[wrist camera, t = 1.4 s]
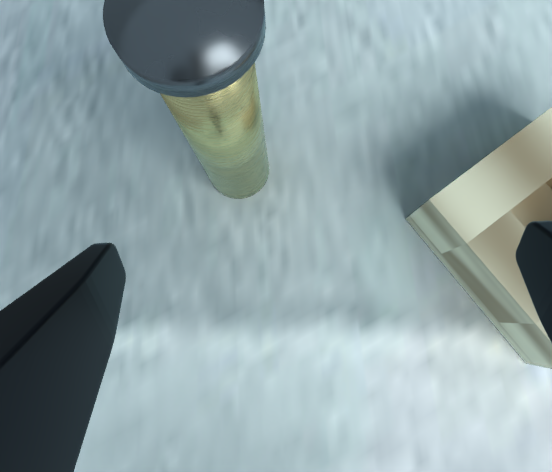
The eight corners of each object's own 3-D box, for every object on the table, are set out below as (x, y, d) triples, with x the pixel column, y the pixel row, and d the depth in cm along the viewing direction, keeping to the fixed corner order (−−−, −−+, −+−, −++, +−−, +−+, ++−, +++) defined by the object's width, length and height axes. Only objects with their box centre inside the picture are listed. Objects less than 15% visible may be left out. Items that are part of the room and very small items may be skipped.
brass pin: (230, 221, 24) (160, 111, 11) (186, 163, 24) (73, -6, 12) (292, 177, 24) (296, 19, 11) (247, 120, 25) (204, -88, 12)
